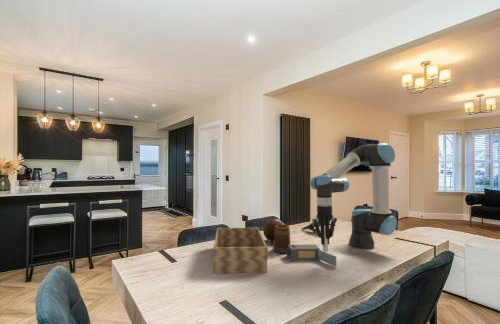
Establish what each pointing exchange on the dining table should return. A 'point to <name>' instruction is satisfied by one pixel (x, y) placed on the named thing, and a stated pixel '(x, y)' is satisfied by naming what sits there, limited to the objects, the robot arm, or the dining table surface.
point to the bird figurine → (311, 227)
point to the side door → (327, 257)
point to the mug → (281, 238)
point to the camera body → (303, 252)
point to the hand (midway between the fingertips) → (325, 250)
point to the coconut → (271, 229)
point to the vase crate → (239, 251)
